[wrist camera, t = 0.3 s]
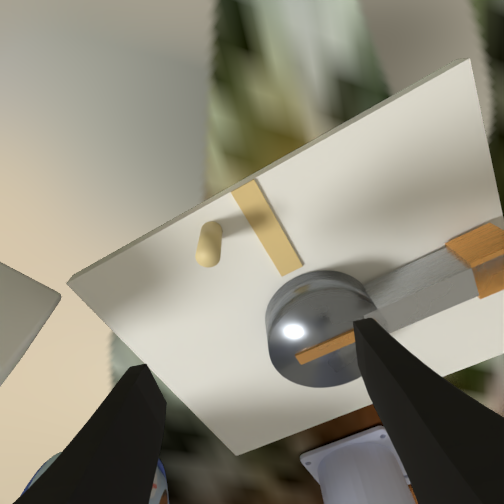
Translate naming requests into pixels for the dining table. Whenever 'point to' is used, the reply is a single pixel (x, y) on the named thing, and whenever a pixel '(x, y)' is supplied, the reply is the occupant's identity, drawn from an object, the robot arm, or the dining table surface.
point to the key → (374, 305)
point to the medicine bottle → (21, 315)
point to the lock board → (308, 259)
